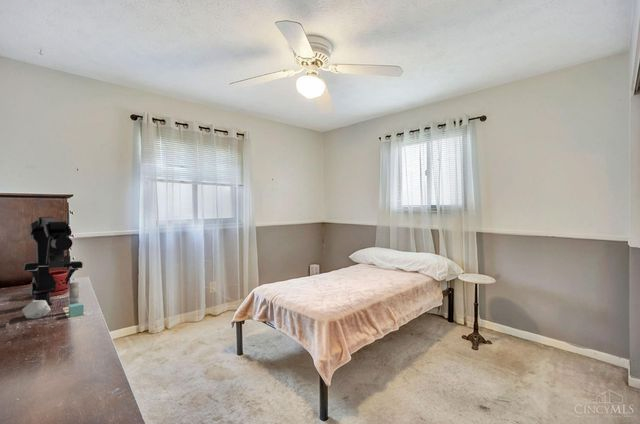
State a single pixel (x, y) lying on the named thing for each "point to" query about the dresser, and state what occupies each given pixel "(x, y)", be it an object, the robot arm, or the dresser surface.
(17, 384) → the dresser surface
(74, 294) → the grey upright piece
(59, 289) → the plant pot
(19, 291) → the dresser surface
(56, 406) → the dresser surface
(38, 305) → the die
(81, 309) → the cube
